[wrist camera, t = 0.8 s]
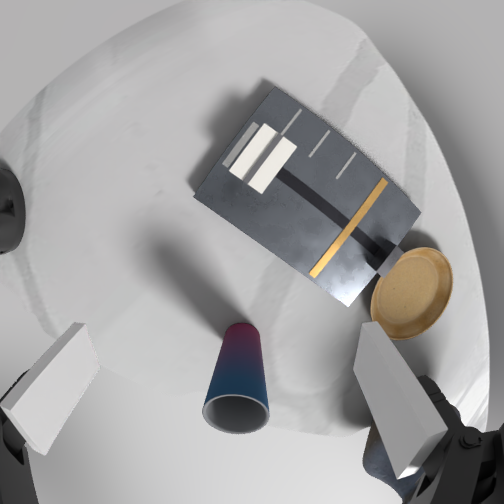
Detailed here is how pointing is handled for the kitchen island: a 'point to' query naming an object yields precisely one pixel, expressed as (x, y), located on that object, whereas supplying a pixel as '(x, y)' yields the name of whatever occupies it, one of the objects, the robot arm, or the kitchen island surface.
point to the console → (314, 202)
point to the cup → (238, 384)
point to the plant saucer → (412, 293)
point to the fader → (263, 158)
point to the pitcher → (389, 465)
